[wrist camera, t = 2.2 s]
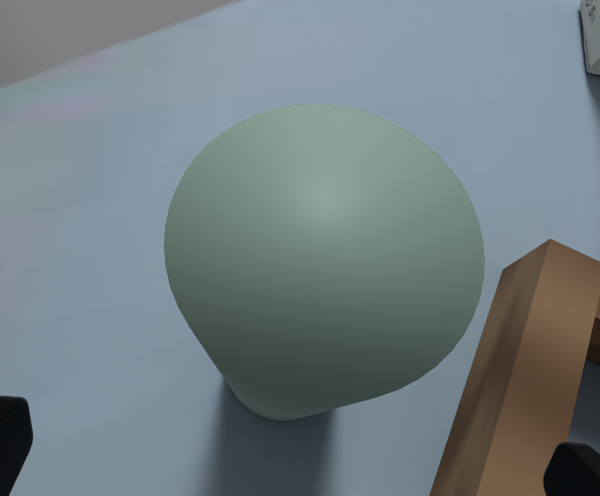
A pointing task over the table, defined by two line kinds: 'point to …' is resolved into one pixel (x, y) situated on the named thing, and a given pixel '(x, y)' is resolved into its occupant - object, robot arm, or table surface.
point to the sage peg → (322, 258)
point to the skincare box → (591, 34)
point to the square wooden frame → (524, 376)
